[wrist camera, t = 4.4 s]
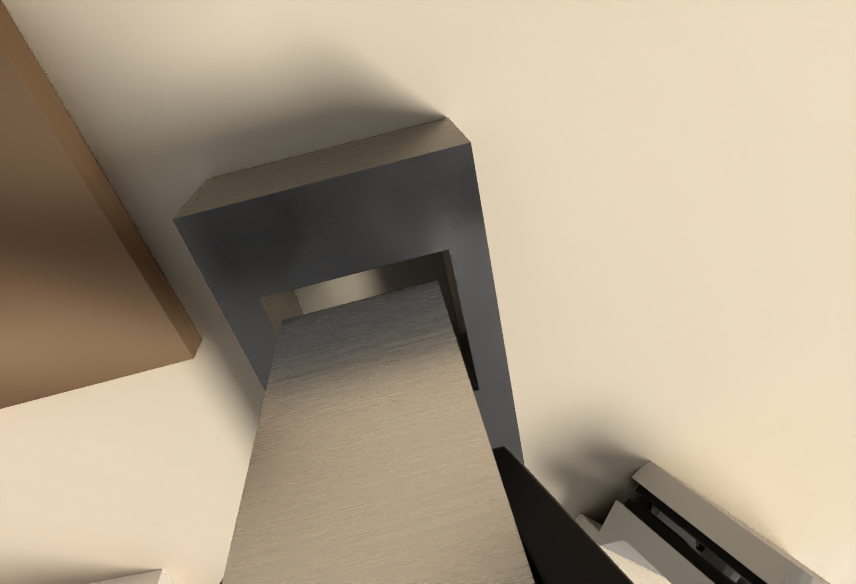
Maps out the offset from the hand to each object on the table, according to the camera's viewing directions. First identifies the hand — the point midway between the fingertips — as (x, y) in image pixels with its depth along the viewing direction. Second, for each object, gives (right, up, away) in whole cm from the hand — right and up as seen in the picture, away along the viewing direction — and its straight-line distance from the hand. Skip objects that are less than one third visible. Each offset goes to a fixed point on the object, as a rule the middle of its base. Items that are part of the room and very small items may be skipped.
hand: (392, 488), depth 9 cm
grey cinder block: (0, 0, +9) cm, 9 cm away
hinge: (+17, -9, +17) cm, 26 cm away
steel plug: (-1, +2, +3) cm, 4 cm away
